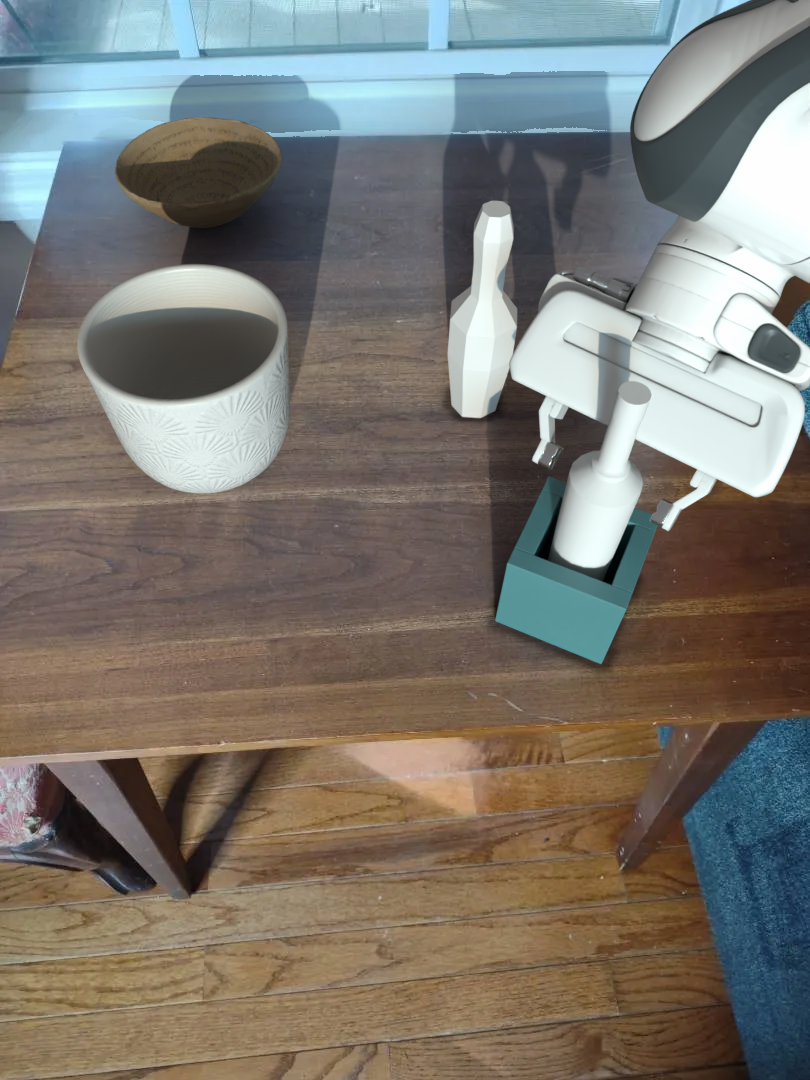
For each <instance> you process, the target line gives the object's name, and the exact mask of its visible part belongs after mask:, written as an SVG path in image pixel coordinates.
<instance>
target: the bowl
mask: <svg viewBox="0 0 810 1080" xmlns="http://www.w3.org/2000/svg"><path fill="white" fill-rule="evenodd" d="M282 152H283V151H282V149H281V147H280V145H279V143H278V142H277V140H276V138H274V137H273V136H272V135H270V134H269V133H268V132H266V131H265V130H263V129H262V128H260V127H258V126H256V125H253V124H250V123H247V122H244V121H240V120H237V119H228V118H227V119H226V118H221V117H220V118H219V117H211V116H210V117H209V116H207V117H206V116H200V117H185V118H182V119H177V120H172V121H168V122H163V123H160V124H158V125H154V126H153V127H151V128H149V129H147V130H145V131H143V133H141V134H139V135H138V136H136V137H135V138H133V139H132V140H131V141H130V142H128V143H127V145H125V147H124V148H123V150H122V151H121V152H120V153H119V154H118V157H117V159H116V162H115V166H114V167H115V169H114V175H115V179H116V182H117V184H118V186H119V187H120V189H121V190H122V191H123V192H124V194H125V195H126V196H127V197H128V198H130V199H131V200H132V201H133V202H134V203H135V204H137V205H138V206H140V207H141V208H143V209H144V210H146V211H148V212H150V213H151V214H154V215H156V216H159V217H160V218H162V219H165V220H167V221H168V222H170V223H172V224H175V225H178V226H182V227H189V228H197V229H201V228H202V229H204V228H205V229H208V228H215V227H219V226H222V225H225V224H227V223H229V222H232V221H234V220H235V219H237V218H239V217H241V216H242V215H243V214H244V213H246V211H247V210H248V209H249V208H251V206H253V204H255V203H256V202H257V201H258V200H259V199H260V198H261V197H262V196H263V195H264V194H265V193H266V192H267V191H268V190H269V188H270V187H271V186H272V184H273V183H274V181H275V180H276V178H277V176H278V174H279V172H280V170H281V167H282V163H283V153H282Z"/></svg>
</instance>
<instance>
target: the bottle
mask: <svg viewBox="0 0 810 1080" xmlns="http://www.w3.org/2000/svg"><path fill="white" fill-rule="evenodd" d="M651 396H652V395H651V391H650V389H649V388H648V387H647V386H646V385H644V384H642V383H640V382H636V381H629V382H625V383H623V384H622V385H621V386H620V387H619V390H618V394H617V397H616V400H615V403H614V406H613V410H612V416H611V419H610V422H609V425H608V426H607V428H606V431H605V434H604V437H603V440H602V444H601V447H600V450H592V451H589V452H586V453H584V454H581V455H579V457H578V458H576V460H574V461H573V462H572V464H571V467H570V470H569V473H568V477H567V481H566V483H567V484H566V488H565V492H564V496H563V501H562V505H561V509H560V513H559V517H558V521H557V525H556V529H555V533H554V537H553V541H552V545H551V549H550V554H549V558H548V560H547V561H550V562H553V563H555V564H558V565H560V566H563V567H566V568H568V569H571V570H573V571H576V572H579V573H581V574H584V575H586V576H589V577H592V578H594V579H597V580H599V581H602V582H604V581H603V579H604V577H605V574H606V572H607V570H608V567H609V565H610V563H611V561H612V558H613V556H614V554H615V551H616V549H617V547H618V544H619V542H620V540H621V538H622V535H623V533H624V531H625V528H626V526H627V524H628V521H629V519H630V517H631V515H632V512H633V510H634V508H636V506H637V503H638V500H639V498H640V496H641V493H642V490H643V487H644V481H643V477H642V473H641V471H640V470H639V469H638V467H637V466H636V465H635V463H634V462H632V461H631V460H630V459H629V458H630V456H631V453H632V450H633V447H634V444H635V441H636V439H635V438H636V435H637V433H638V430H639V427H640V424H641V421H643V418H644V415H645V413H646V410H647V407H648V404H649V402H650V399H651Z"/></svg>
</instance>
